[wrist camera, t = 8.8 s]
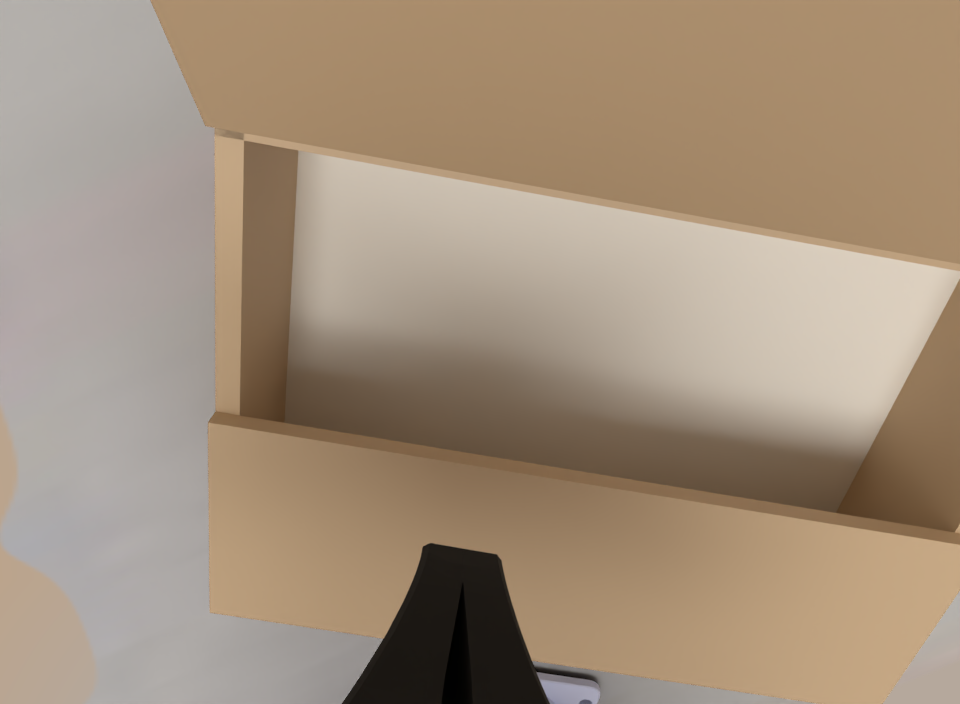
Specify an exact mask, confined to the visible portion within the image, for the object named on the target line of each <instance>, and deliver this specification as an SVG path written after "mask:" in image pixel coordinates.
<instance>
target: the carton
mask: <svg viewBox="0 0 960 704" xmlns="http://www.w3.org/2000/svg"><path fill="white" fill-rule="evenodd" d="M215 383H216V412H215V413H214V415H213V416H212V417H211V419H210V420H209V422H208V482H209V587H210V613H216V614H222V615H229V616H236V617H242V618H249V619H256V620H262V621H269V622H276V623H283V624H289V625H296V626H303V627H309V628H316V629H323V630H329V631H336V632H343V633H350V634H356V635H363V636H370V637H376V638H383V639H384V637H385V635H386V634H387V632H388V630H389V628H390V626H391V624H392V622H393V620H394V618H395V617H396V615H397V613H398V611H399V609H400V607H401V605H402V603H403V601H404V599H405V597H406V595H407V592H408V590H409V588H410V586H411V583H412V581H413V578H414V576H415V573H416V571H417V568H418V564H419V561H420V558H421V553H422V548H423V546H425V545H427V544H429V543H434V544H439V545H445V546H451V547H457V548H463V549H469V550H474V551H480V552H486V553H492V554H497V555H498V556H499V558H500V559H501V560H502V566H503V571H504V575H505V580H506V584H507V588H508V591H509V595H510V598H511V602H512V605H513V608H514V611H515V615H516V618H517V621H518V624H519V627H520V630H521V633H522V636H523V638H524V641H525V644H526V646H527V649H528V652H529V654H530V657H531V660H532V661H537V662H544V663H550V664H557V665H564V666H570V667H577V668H584V669H591V670H597V671H604V672H611V673H617V674H624V675H631V676H637V677H644V678H651V679H657V680H664V681H671V682H678V683H684V684H691V685H698V686H704V687H711V688H718V689H724V690H731V691H738V692H744V693H751V694H758V695H765V696H771V697H778V698H785V699H791V700H798V701H805V702H811V703H818V704H883V702H884V701H885V700H886V698H887V697H888V695H889V694H890V692H891V691H892V689H893V688H894V686H895V685H896V683H897V682H898V680H899V679H900V678H901V676H902V675H903V673H904V672H905V670H906V669H907V667H908V666H909V664H910V663H911V661H912V660H913V658H914V657H915V656H916V654H917V653H918V651H919V650H920V648H921V647H922V645H923V644H924V642H925V641H926V639H927V638H928V636H929V635H930V634H931V632H932V631H933V629H934V628H935V626H936V625H937V623H938V622H939V620H940V619H941V617H942V616H943V614H944V613H945V612H946V610H947V609H948V607H949V606H950V604H951V603H952V601H953V600H954V598H955V597H956V595H957V594H958V592H959V591H960V264H956V263H951V262H945V261H940V260H934V259H929V258H923V257H918V256H912V255H907V254H901V253H896V252H891V251H885V250H880V249H874V248H869V247H863V246H858V245H852V244H847V243H841V242H836V241H830V240H825V239H820V238H814V237H809V236H803V235H798V234H792V233H787V232H781V231H776V230H770V229H765V228H760V227H754V226H749V225H743V224H738V223H732V222H727V221H721V220H716V219H710V218H705V217H699V216H694V215H689V214H683V213H678V212H672V211H667V210H661V209H656V208H650V207H645V206H639V205H634V204H628V203H623V202H618V201H612V200H607V199H601V198H596V197H590V196H585V195H579V194H574V193H568V192H563V191H558V190H552V189H547V188H541V187H536V186H530V185H525V184H519V183H514V182H508V181H503V180H497V179H492V178H487V177H481V176H476V175H470V174H465V173H459V172H454V171H448V170H443V169H437V168H432V167H427V166H421V165H416V164H410V163H405V162H399V161H394V160H388V159H383V158H377V157H372V156H366V155H361V154H356V153H350V152H345V151H339V150H334V149H328V148H323V147H317V146H312V145H306V144H301V143H295V142H290V141H285V140H279V139H274V138H268V137H263V136H257V135H252V134H246V133H241V132H235V131H230V130H225V129H219V128H215Z"/></svg>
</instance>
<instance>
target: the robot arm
mask: <svg viewBox="0 0 960 704" xmlns="http://www.w3.org/2000/svg"><path fill="white" fill-rule="evenodd" d="M599 698H600V687H599V685H598V684H597V683H596V682H595V681H592V680H587V679H580V678H573V677H567V676H560V675H553V674H546V673H540V672H536V670H535V668H534V665H533V662H532V660H531V657H530V654H529V652H528V649H527V646H526V644H525V641H524V638H523V636H522V633H521V630H520V627H519V624H518V621H517V618H516V615H515V611H514V608H513V605H512V602H511V598H510V595H509V591H508V588H507V584H506V580H505V575H504V571H503V566H502V560H501V559H500V558H499V556H498V555H497V554H492V553H486V552H480V551H474V550H469V549H463V548H457V547H451V546H445V545H439V544H434V543H429V544H427V545H425V546H423V548H422V553H421V558H420V561H419V564H418V568H417V571H416V573H415V576H414V578H413V581H412V583H411V586H410V588H409V590H408V592H407V595H406V597H405V599H404V601H403V603H402V605H401V607H400V609H399V611H398V613H397V615H396V617H395V618H394V620H393V622H392V624H391V626H390V628H389V630H388V632H387V634H386V635H385V637H384V639H383V641H382V642H381V644H380V646H379V647H378V649H377V650H376V652H375V654H374V655H373V657H372V659H371V660H370V662H369V663H368V665H367V667H366V668H365V670H364V672H363V673H362V675H361V676H360V678H359V679H358V681H357V682H356V684H355V685H354V687H353V688H352V690H351V691H350V693H349V694H348V696H347V697H346V698H345V700H344V701H343V703H342V704H597V703H598V701H599Z"/></svg>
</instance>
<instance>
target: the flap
mask: <svg viewBox="0 0 960 704" xmlns="http://www.w3.org/2000/svg"><path fill="white" fill-rule="evenodd" d="M151 3H152V5H153V7H154V9H155V12H156V14H157V16H158V19H159V21H160V23H161V25H162V28H163V30H164V32H165V35H166V37H167V39H168V41H169V44H170V46H171V48H172V51H173V53H174V55H175V57H176V60H177V62H178V64H179V67H180V69H181V71H182V73H183V76H184V78H185V80H186V83H187V85H188V87H189V89H190V92H191V94H192V96H193V99H194V101H195V103H196V105H197V108H198V110H199V112H200V115H201V117H202V119H203V121H204V124H205V126H208V127H214V128H219V129H225V130H230V131H235V132H241V133H246V134H252V135H257V136H263V137H268V138H274V139H279V140H285V141H290V142H295V143H301V144H306V145H312V146H317V147H323V148H328V149H334V150H339V151H345V152H350V153H356V154H361V155H366V156H372V157H377V158H383V159H388V160H394V161H399V162H405V163H410V164H416V165H421V166H427V167H432V168H437V169H443V170H448V171H454V172H459V173H465V174H470V175H476V176H481V177H487V178H492V179H497V180H503V181H508V182H514V183H519V184H525V185H530V186H536V187H541V188H547V189H552V190H558V191H563V192H568V193H574V194H579V195H585V196H590V197H596V198H601V199H607V200H612V201H618V202H623V203H628V204H634V205H639V206H645V207H650V208H656V209H661V210H667V211H672V212H678V213H683V214H689V215H694V216H699V217H705V218H710V219H716V220H721V221H727V222H732V223H738V224H743V225H749V226H754V227H760V228H765V229H770V230H776V231H781V232H787V233H792V234H798V235H803V236H809V237H814V238H820V239H825V240H830V241H836V242H841V243H847V244H852V245H858V246H863V247H869V248H874V249H880V250H885V251H891V252H896V253H901V254H907V255H912V256H918V257H923V258H929V259H934V260H940V261H945V262H951V263H956V264H960V0H151Z"/></svg>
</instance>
